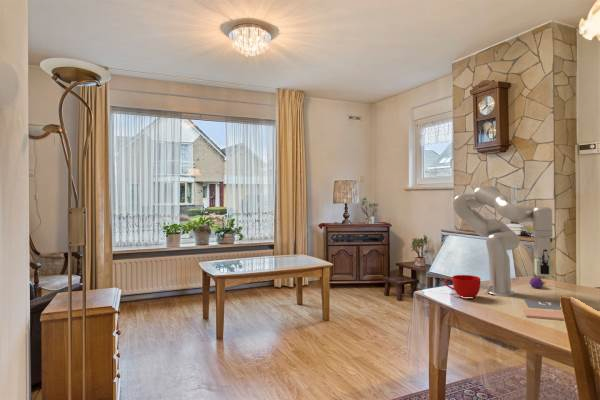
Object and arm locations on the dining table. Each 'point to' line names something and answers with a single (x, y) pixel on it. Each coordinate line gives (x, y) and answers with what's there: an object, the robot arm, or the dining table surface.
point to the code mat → (543, 304)
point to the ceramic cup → (465, 285)
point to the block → (537, 268)
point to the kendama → (536, 282)
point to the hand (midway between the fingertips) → (543, 272)
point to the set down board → (543, 314)
